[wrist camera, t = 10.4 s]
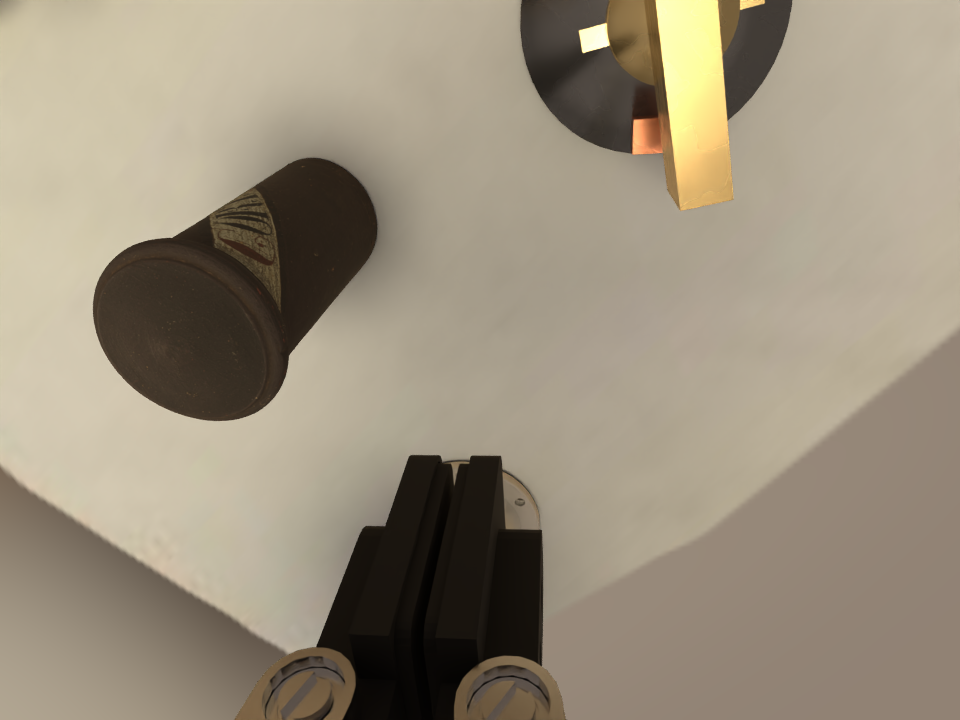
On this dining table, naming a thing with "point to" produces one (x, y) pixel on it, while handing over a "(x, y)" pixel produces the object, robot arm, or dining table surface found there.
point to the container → (234, 291)
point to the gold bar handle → (680, 83)
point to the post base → (613, 91)
